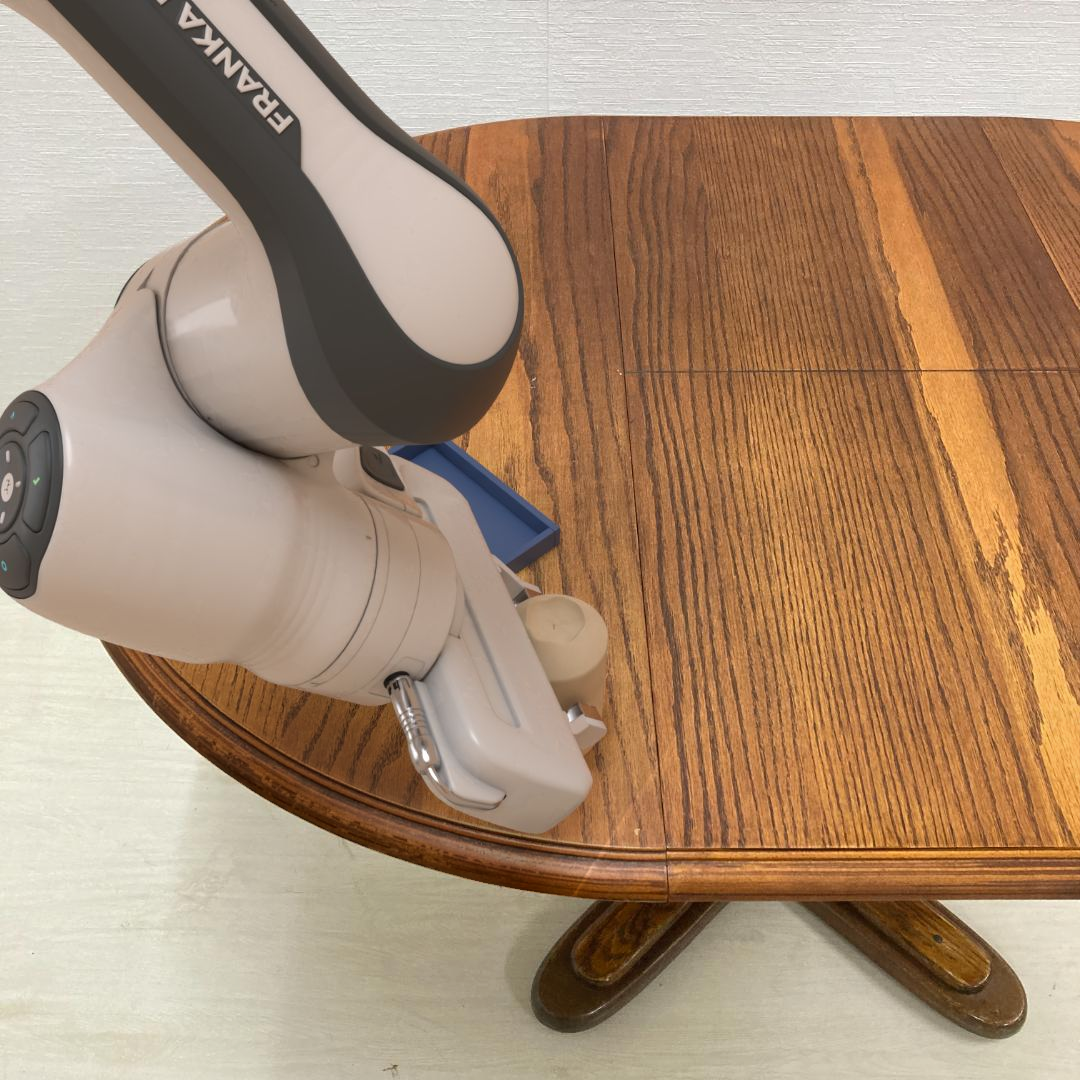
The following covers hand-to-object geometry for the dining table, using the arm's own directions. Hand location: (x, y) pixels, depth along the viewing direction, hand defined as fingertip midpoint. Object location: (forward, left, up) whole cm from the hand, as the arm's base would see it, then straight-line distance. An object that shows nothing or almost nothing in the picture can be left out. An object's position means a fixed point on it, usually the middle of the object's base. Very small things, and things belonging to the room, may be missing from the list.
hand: (563, 666), depth 59 cm
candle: (-1, 0, -6) cm, 6 cm away
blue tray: (+1, +16, -5) cm, 17 cm away
